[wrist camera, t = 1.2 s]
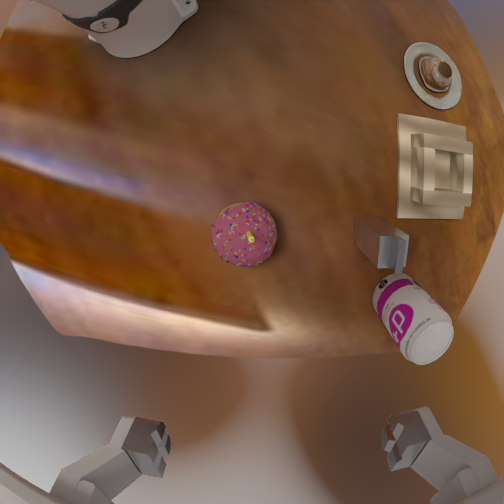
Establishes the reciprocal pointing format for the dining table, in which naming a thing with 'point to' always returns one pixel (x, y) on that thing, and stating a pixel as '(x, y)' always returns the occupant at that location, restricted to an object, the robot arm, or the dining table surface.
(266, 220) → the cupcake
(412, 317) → the supplement can
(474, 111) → the dining table surface
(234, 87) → the dining table surface
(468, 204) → the well
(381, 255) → the grey long block
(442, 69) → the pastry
